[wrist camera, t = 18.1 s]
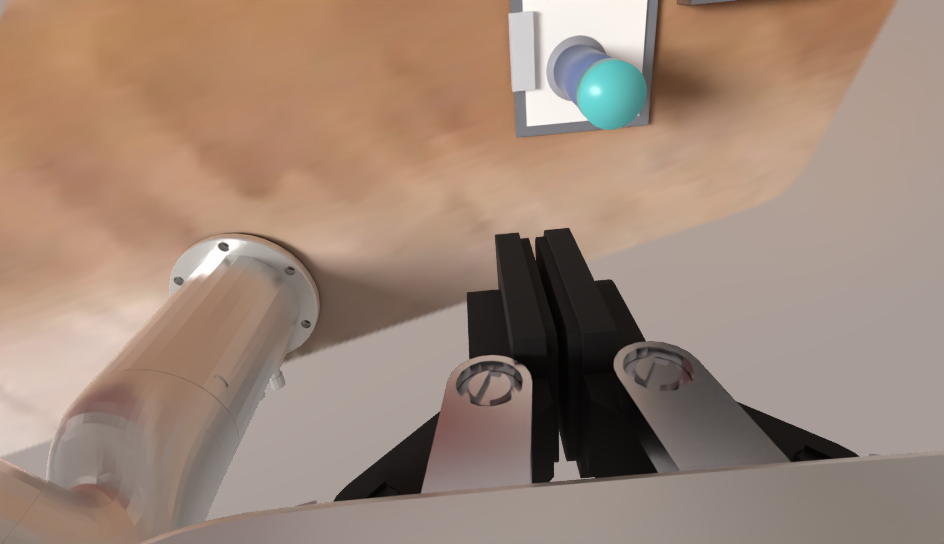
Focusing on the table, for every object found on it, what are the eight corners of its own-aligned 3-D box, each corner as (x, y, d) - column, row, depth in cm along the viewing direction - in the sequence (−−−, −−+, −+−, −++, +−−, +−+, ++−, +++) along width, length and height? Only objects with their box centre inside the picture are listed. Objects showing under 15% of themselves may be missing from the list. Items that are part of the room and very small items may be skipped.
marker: (551, 97, 37) (579, 131, 29) (552, 44, 35) (583, 63, 27) (600, 95, 37) (642, 127, 29) (604, 41, 35) (650, 59, 27)
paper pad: (645, 123, 39) (651, 127, 38) (513, 136, 39) (515, 140, 38) (660, -63, 33) (667, -65, 32) (504, -47, 33) (506, -49, 32)
